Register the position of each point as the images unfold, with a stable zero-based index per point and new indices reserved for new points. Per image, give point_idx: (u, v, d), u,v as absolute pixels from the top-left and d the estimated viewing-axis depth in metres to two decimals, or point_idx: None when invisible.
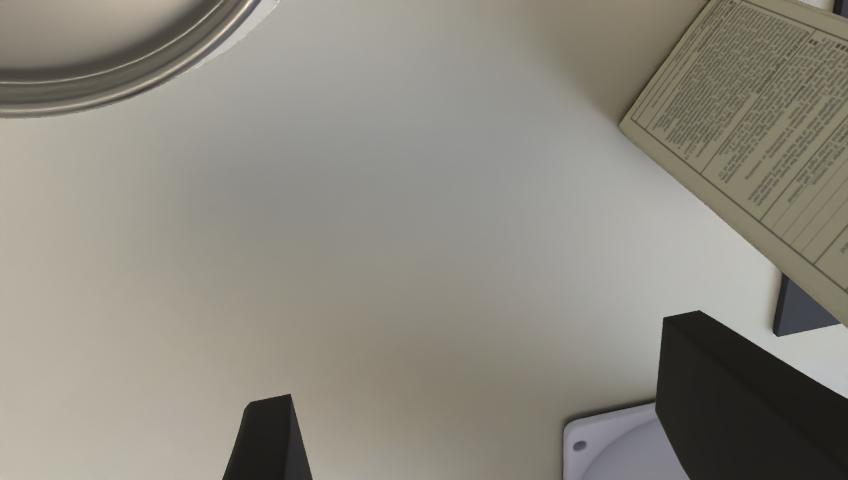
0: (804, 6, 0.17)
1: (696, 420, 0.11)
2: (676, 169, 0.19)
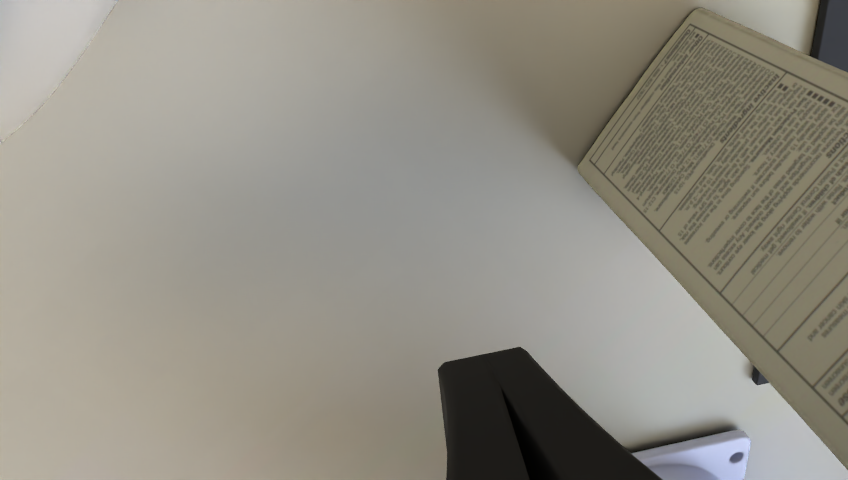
0: (774, 44, 0.16)
1: None
2: (634, 222, 0.17)
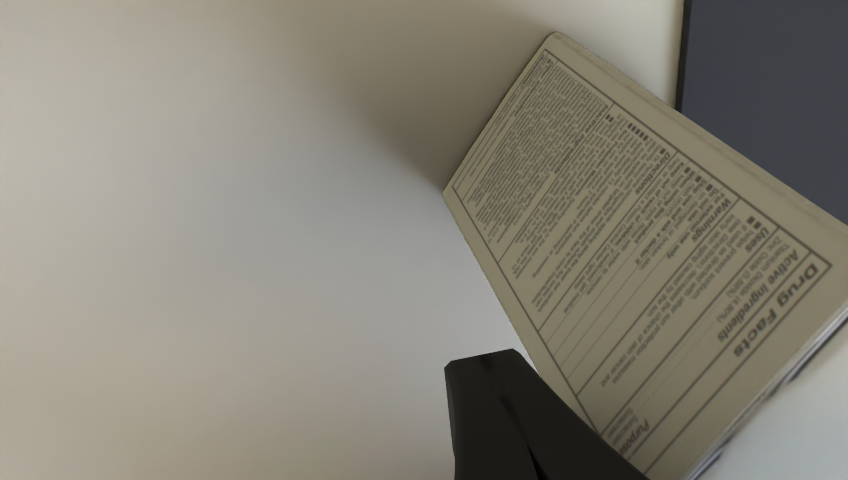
0: (609, 73, 0.15)
1: None
2: (480, 253, 0.17)
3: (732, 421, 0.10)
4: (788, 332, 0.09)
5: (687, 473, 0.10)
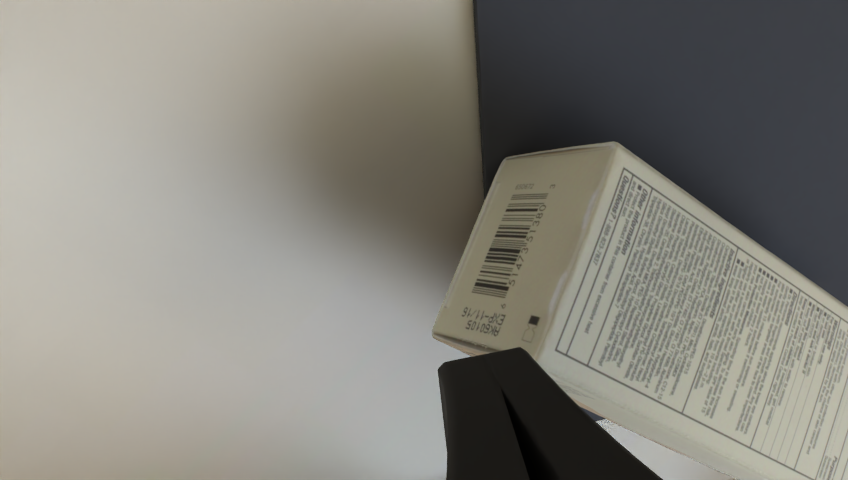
0: (715, 214, 0.17)
1: None
2: (651, 411, 0.16)
3: None
4: None
5: None
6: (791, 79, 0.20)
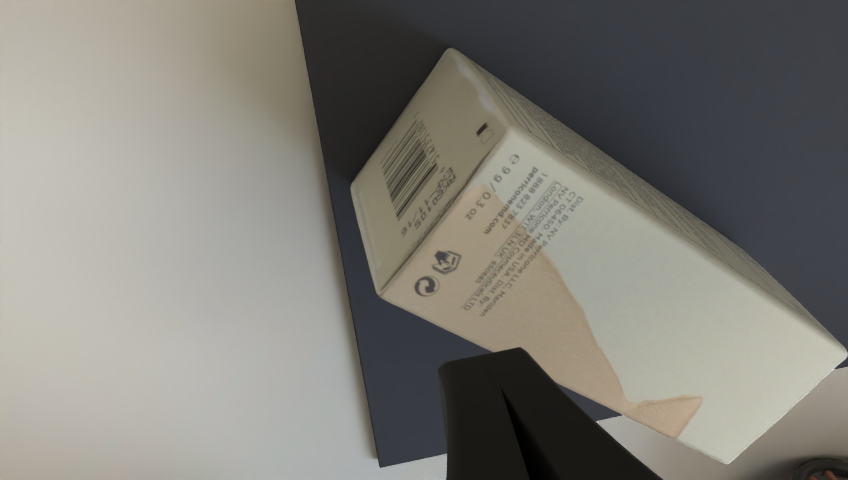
0: (552, 118, 0.19)
1: None
2: (636, 206, 0.15)
3: (793, 297, 0.20)
4: (760, 266, 0.21)
5: None
6: (647, 103, 0.19)
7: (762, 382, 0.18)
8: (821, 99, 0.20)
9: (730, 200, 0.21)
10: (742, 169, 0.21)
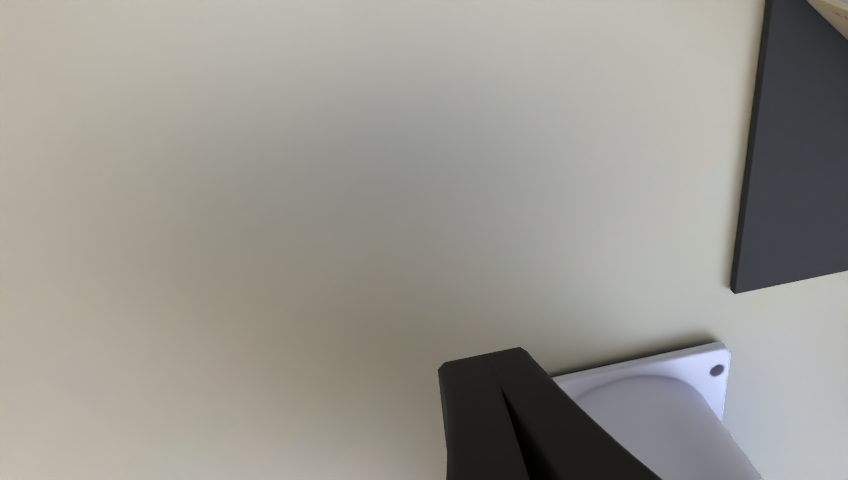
0: None
1: None
2: None
3: None
4: None
5: None
6: None
7: None
8: None
9: None
10: None
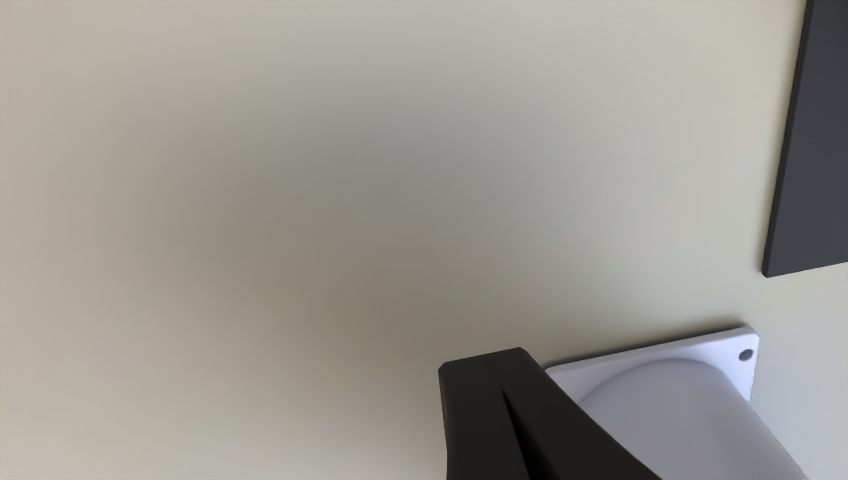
0: None
1: None
2: None
3: None
4: None
5: None
6: None
7: None
8: None
9: None
10: None
